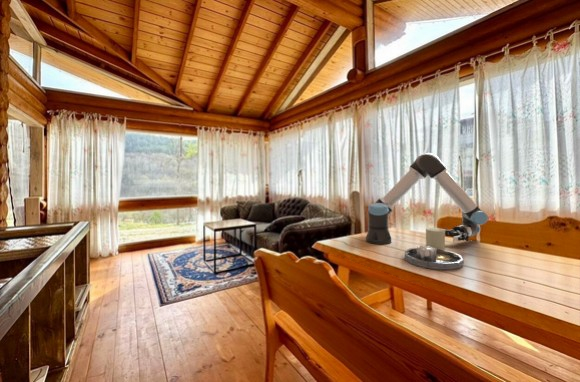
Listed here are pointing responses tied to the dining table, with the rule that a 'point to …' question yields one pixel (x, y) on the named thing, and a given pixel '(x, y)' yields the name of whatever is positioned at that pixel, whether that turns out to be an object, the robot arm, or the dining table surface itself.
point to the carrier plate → (435, 265)
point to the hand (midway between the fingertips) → (440, 237)
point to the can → (435, 238)
